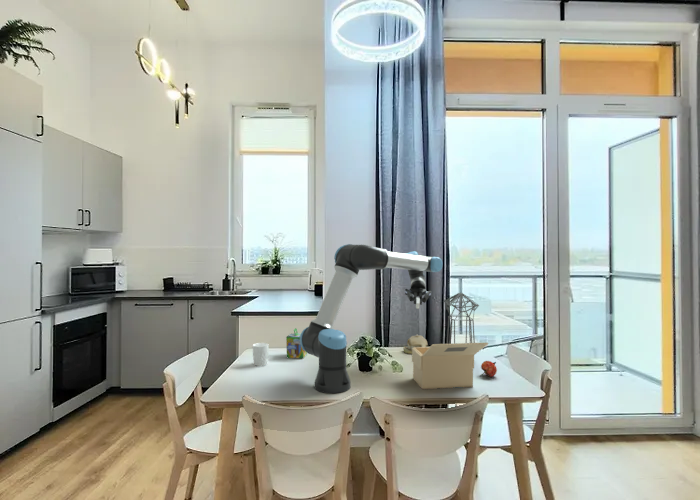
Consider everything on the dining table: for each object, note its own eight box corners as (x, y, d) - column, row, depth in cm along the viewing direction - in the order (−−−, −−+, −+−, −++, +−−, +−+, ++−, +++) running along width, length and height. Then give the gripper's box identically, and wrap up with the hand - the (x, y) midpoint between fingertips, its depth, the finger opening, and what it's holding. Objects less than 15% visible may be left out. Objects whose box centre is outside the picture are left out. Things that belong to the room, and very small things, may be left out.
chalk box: (302, 359, 217) (302, 331, 217) (286, 358, 218) (286, 330, 218) (307, 354, 226) (307, 327, 226) (291, 353, 227) (291, 326, 227)
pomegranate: (486, 384, 185) (504, 370, 185) (476, 370, 186) (493, 357, 186) (482, 380, 192) (499, 367, 193) (472, 367, 193) (489, 354, 193)
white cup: (270, 365, 205) (270, 345, 205) (253, 367, 202) (253, 347, 202) (267, 361, 212) (267, 342, 212) (251, 363, 209) (251, 343, 209)
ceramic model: (424, 349, 239) (424, 331, 238) (432, 354, 228) (432, 336, 228) (401, 350, 235) (401, 332, 235) (408, 355, 224) (408, 337, 224)
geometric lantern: (471, 355, 225) (471, 291, 224) (479, 363, 209) (480, 294, 208) (441, 355, 225) (442, 291, 224) (448, 363, 209) (448, 294, 209)
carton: (420, 389, 172) (420, 355, 172) (411, 378, 186) (411, 347, 186) (474, 387, 175) (474, 354, 175) (461, 376, 189) (461, 345, 189)
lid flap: (422, 355, 171) (422, 356, 171) (432, 344, 159) (432, 345, 158) (474, 353, 174) (474, 355, 174) (487, 342, 161) (488, 344, 161)
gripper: (430, 295, 211) (431, 314, 188) (404, 292, 213) (402, 312, 190) (431, 281, 209) (433, 299, 186) (405, 279, 210) (404, 296, 188)
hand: (417, 305), depth 188 cm, fingers closed
